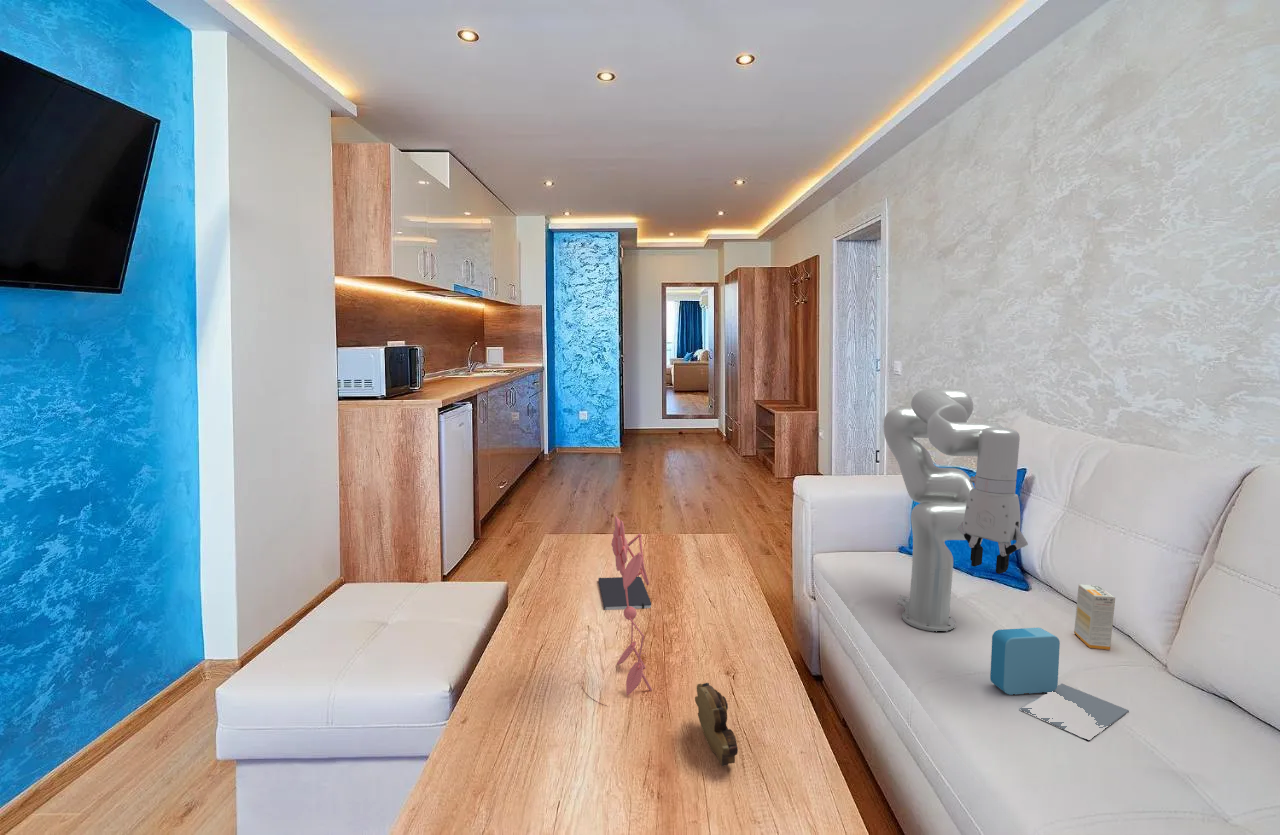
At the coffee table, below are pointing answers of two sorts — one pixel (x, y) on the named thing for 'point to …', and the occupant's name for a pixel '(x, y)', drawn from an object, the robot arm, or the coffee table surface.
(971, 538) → the robot arm
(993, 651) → the data package
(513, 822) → the coffee table surface
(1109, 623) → the supplement box
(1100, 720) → the mat
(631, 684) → the pink leafy sprig
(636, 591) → the notebook
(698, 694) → the wooden carving
